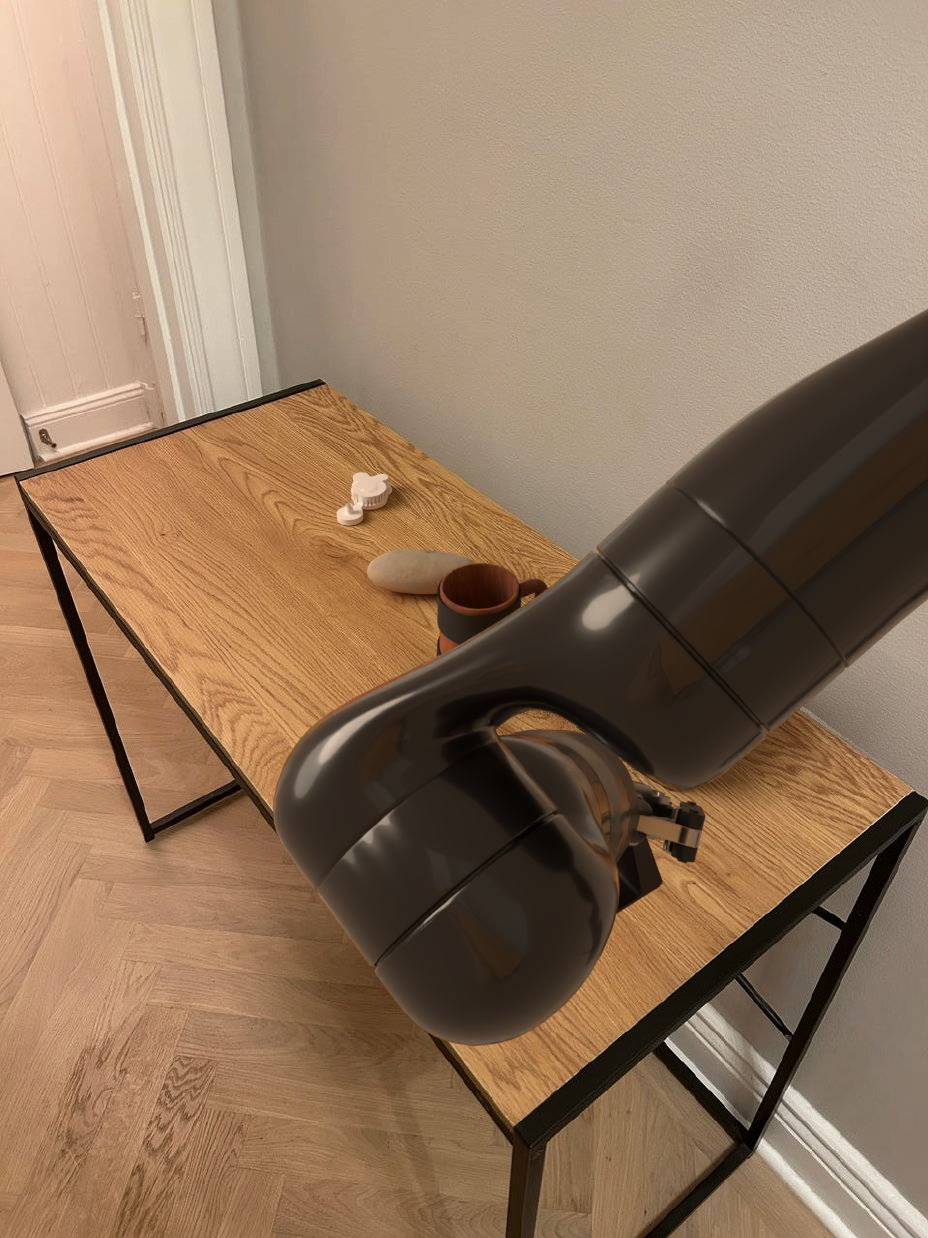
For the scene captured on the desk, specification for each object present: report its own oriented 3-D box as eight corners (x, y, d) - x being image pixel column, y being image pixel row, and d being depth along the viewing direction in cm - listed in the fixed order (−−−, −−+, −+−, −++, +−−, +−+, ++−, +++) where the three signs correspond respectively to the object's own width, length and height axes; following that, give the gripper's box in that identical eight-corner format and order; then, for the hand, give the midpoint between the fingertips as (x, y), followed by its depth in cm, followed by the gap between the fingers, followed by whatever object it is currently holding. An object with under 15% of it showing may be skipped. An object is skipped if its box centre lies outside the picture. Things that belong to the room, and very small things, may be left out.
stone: (365, 553, 107) (465, 521, 106) (383, 603, 109) (482, 572, 108) (359, 569, 102) (465, 536, 100) (379, 621, 104) (483, 589, 102)
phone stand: (605, 825, 67) (620, 705, 59) (662, 885, 63) (686, 766, 55) (501, 885, 63) (502, 765, 55) (554, 953, 59) (564, 835, 52)
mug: (566, 677, 95) (574, 587, 87) (461, 718, 91) (459, 626, 83) (523, 628, 101) (527, 539, 93) (422, 664, 97) (418, 574, 89)
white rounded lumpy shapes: (327, 488, 123) (326, 474, 121) (392, 478, 124) (391, 464, 123) (339, 527, 116) (337, 513, 114) (407, 516, 117) (406, 502, 116)
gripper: (723, 774, 41) (725, 763, 57) (424, 694, 46) (503, 705, 61) (683, 942, 41) (696, 884, 57) (385, 845, 45) (475, 817, 61)
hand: (596, 791), depth 59 cm, fingers closed on phone stand, 6 cm apart
